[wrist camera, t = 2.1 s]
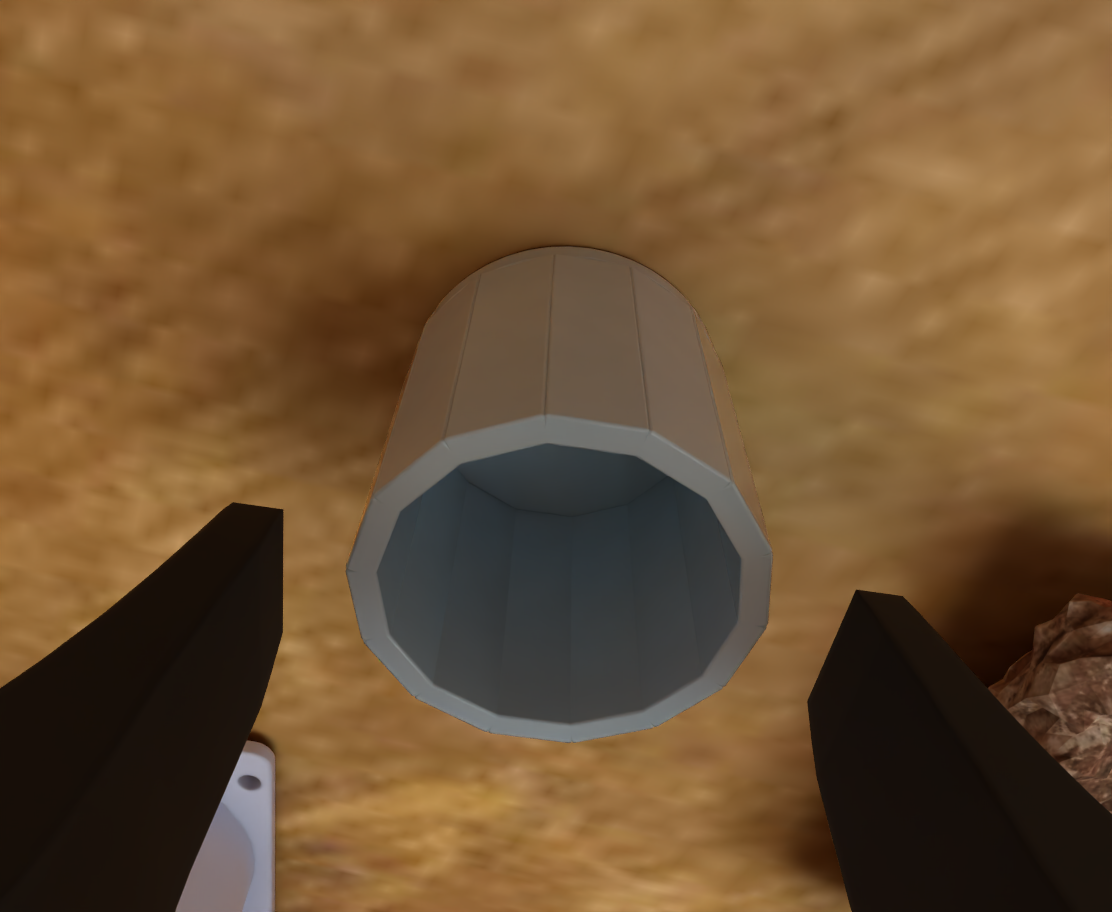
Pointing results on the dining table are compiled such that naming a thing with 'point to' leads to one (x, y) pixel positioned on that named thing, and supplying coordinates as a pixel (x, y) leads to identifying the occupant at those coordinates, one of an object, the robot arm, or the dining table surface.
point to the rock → (1069, 692)
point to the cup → (562, 506)
